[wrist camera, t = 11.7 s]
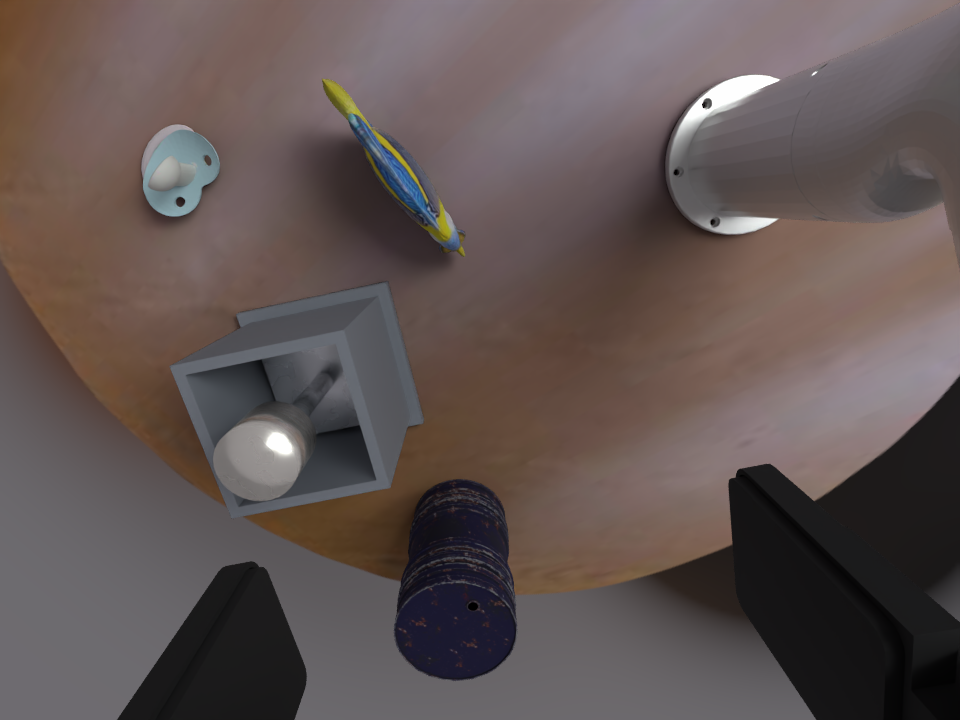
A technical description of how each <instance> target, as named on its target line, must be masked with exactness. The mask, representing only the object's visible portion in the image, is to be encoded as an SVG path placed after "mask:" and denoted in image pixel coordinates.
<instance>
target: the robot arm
mask: <svg viewBox="0 0 960 720" xmlns="http://www.w3.org/2000/svg"><path fill="white" fill-rule="evenodd" d="M702 102H703V103H704V104H705V108H704V109H703V108H702ZM675 169H676V170H677V175H674V170H675ZM665 171H666V181H667V185H668V189H669V193H670V195H671V197H672V199H673V202H674V204H675V205H676V207H677V208H678V209H679V211H680V212H681V213H682V215H683V216H684V217H686V218H687V219H688V220H689V221H690V222H691V223H692V224H694V225H696V226H698V227H700V228H701V229H703V230H706V231H710V232H713V233H717V234H725V235H741V234H746V233H750V232H755V231H757V230H759V229H762V228H764V227H767V226H769V225H770V224H772V223H773V222H775V221H777V220H778V219H792V220H812V221H832V222H853V223H856V222H859V223H881V222H890V221H895V220H900V219H905V218H908V217H911V216H914V215H917V214H919V213H922V212H924V211H927V210H929V209H931V208H933V207H936V206H938V205H940V204H941V203H943V202H944V206H945V210H946V215H947V220H948V225H949V229H950V230H951V231H952V235H953V240H954V245H955V250H956V255H957V260H958V265H959V270H960V3H958V4H956V5H954V6H952V7H950V8H949V9H947V10H945V11H943V12H941V13H939V14H937V15H935V16H933V17H931V18H929V19H926V20H924V21H922V22H920V23H918V24H915V25H913V26H911V27H909V28H907V29H904V30H902V31H900V32H898V33H895V34H893V35H891V36H888V37H886V38H883V39H881V40H878V41H876V42H873V43H871V44H868V45H866V46H863V47H861V48H859V49H857V50H854V51H852V52H849V53H847V54H844V55H842V56H839V57H837V58H834V59H832V60H829V61H827V62H824V63H822V64H819V65H817V66H814V67H812V68H809V69H807V70H804V71H802V72H799V73H797V74H794V75H792V76H789V77H787V78H784V79H782V80H781V79H778V78H775V77H772V76H769V75H759V74H750V75H742V76H737V77H734V78H731V79H728V80H725V81H723V82H721V83H719V84H717V85H715V86H713V87H711V88H710V89H708V90H707V91H705V92H704V93H702V94H701V95H700V96H699V97H698V98H697V99H696V100H694V101H693V102H692V103H691V104H690V105H689V106H688V108H687V109H686V110H685V112H684V113H683V114H682V116H681V117H680V119H679V120H678V122H677V124H676V126H675V128H674V130H673V132H672V134H671V138H670V141H669V144H668V147H667V153H666V161H665ZM711 219H712V220H713V223H712V224H711V225H710V221H711ZM729 500H730V514H731V528H732V542H733V556H734V570H735V585H736V593H737V597H738V600H739V603H740V605H741V607H742V609H743V611H744V612H745V614H746V615H747V617H748V618H749V620H750V621H751V623H752V624H753V625H754V627H755V629H756V630H757V632H758V633H759V635H760V636H761V638H762V639H763V641H764V642H765V644H766V645H767V647H768V648H769V650H770V651H771V653H772V654H773V655H774V657H775V658H776V660H777V661H778V663H779V664H780V666H781V667H782V669H783V670H784V672H785V673H786V675H787V676H788V678H789V679H790V681H791V682H792V684H793V685H794V686H795V688H796V690H797V691H798V693H799V694H800V696H801V697H802V699H803V700H804V702H805V703H806V705H807V706H808V708H809V709H810V711H811V712H812V714H813V715H814V717H815V718H816V720H960V622H959V621H958V620H956V619H955V618H954V617H953V616H952V615H951V614H949V613H948V612H947V611H946V610H945V609H944V608H942V607H941V606H940V605H939V604H938V603H937V602H935V601H934V600H933V599H932V598H931V597H929V596H928V595H927V594H926V593H925V592H924V591H923V590H921V589H920V588H919V587H918V586H917V585H915V584H914V583H913V582H912V581H911V580H909V579H908V578H907V577H906V576H905V575H904V574H903V573H901V572H900V571H899V570H898V569H897V568H896V567H895V566H893V565H892V564H891V563H890V562H889V561H888V560H886V559H885V558H884V557H883V556H882V555H881V554H879V553H878V552H877V551H876V550H875V549H873V548H872V547H871V546H870V545H869V544H868V543H867V542H865V541H864V540H863V539H862V538H861V537H860V536H858V535H857V534H856V533H855V532H854V531H852V530H851V529H849V528H848V527H846V526H842V525H841V524H840V523H839V522H837V521H836V520H835V519H834V518H833V517H832V516H830V515H829V514H828V513H827V512H826V511H825V510H823V509H822V508H821V507H820V506H819V505H818V504H817V503H815V502H814V501H813V500H812V499H811V498H810V497H809V496H807V495H806V494H805V493H804V492H803V491H802V490H800V489H799V488H798V487H797V486H796V485H795V484H794V483H792V482H791V481H790V480H789V479H788V478H787V477H785V476H784V475H783V474H782V473H781V472H780V471H779V470H777V469H776V468H775V467H774V466H772V465H771V464H764V465H758V466H753V467H748V468H742V469H739V470H738V471H737V473H736V478H731V479H730V480H729ZM306 677H307V676H306V668H305V665H304V662H303V660H302V657H301V655H300V652H299V650H298V647H297V645H296V642H295V640H294V637H293V635H292V632H291V630H290V627H289V625H288V622H287V620H286V617H285V614H284V612H283V609H282V607H281V604H280V602H279V600H278V597H277V594H276V592H275V589H274V587H273V585H272V582H271V579H270V577H269V574H268V572H267V570H266V569H265V568H264V567H259V566H258V565H257V564H256V563H255V562H246V563H240V564H235V565H229V566H225V567H223V568H222V569H221V570H220V571H219V572H218V573H217V575H216V576H215V578H214V579H213V581H212V582H211V584H210V585H209V586H208V588H207V590H206V591H205V592H204V594H203V595H202V597H201V598H200V600H199V601H198V603H197V604H196V606H195V607H194V608H193V610H192V611H191V613H190V614H189V616H188V617H187V619H186V620H185V621H184V623H183V625H182V626H181V627H180V629H179V630H178V632H177V633H176V635H175V636H174V638H173V639H172V641H171V642H170V643H169V645H168V646H167V648H166V649H165V651H164V652H163V654H162V655H161V657H160V658H159V659H158V661H157V663H156V664H155V665H154V667H153V668H152V670H151V671H150V673H149V674H148V675H147V677H146V678H145V680H144V681H143V683H142V684H141V686H140V687H139V689H138V690H137V692H136V693H135V694H134V696H133V698H132V699H131V700H130V702H129V703H128V705H127V706H126V708H125V709H124V710H123V712H122V713H121V715H120V716H119V718H118V719H117V720H294V719H295V716H296V713H297V710H298V708H299V705H300V702H301V698H302V696H303V693H304V690H305V686H306Z"/></svg>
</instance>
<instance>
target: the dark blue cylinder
mask: <svg viewBox="0 0 960 720" xmlns="http://www.w3.org/2000/svg"><path fill="white" fill-rule="evenodd" d="M508 542H509V540H508V529H507V524H506V521H505V512H504V508H503V506H502V503H501V501H500V500H499V498H498V497H497V496H496V495H495V493H494V492H493V491H491V490H490V489H489V488H488V487H486V486H484V485H482V484H480V483H477V482H475V481H471V480H463V479H456V480H449V481H445V482H442V483H439V484H437V485H435V486H434V487H432V488H431V489H429V490H428V491H427V492H426V493H425V494H424V495H423V496H422V498H421V499H420V500H419V502H418V504H417V507H416V510H415V514H414V520H413V522H412V526H411V530H410V538H409V549H408V554H409V562H408V564H407V566H406V568H405V571H404V573H403V576H402V580H401V587H400V591H399V596H398V604H397V615H396V619H395V624H394V637H395V642H396V645H397V648H398V650H399V652H400V653H401V655H402V656H403V658H404V659H405V660H406V661H407V662H408V663H409V664H410V665H411V666H412V667H414V668H415V669H417V670H418V671H420V672H422V673H424V674H426V675H428V676H431V677H434V678H438V679H443V680H453V681H456V680H457V681H458V680H468V679H473V678H477V677H480V676H483V675H485V674H487V673H489V672H491V671H493V670H494V669H496V668H497V667H499V666H500V665H501V664H502V663H503V662H504V661H505V660H506V659H507V658H508V657H509V655H510V654H511V652H512V650H513V648H514V646H515V642H516V639H517V621H516V613H515V610H516V602H515V592H514V581H513V577H512V574H511V571H510V568H509V566H508V562H507V560H508V555H509V545H508Z"/></svg>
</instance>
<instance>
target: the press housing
mask: <svg viewBox="0 0 960 720" xmlns="http://www.w3.org/2000/svg"><path fill="white" fill-rule="evenodd" d="M236 316H237V319H238V321H239V324H240V327H241V328H239V329H238V330H236V331H234V332H232V333H230V334H228V335H226V336H225V337H223V338H221V339H219V340H217V341H215V342H213V343H212V344H210V345H208V346H206V347H204V348H202V349H200V350H199V351H197V352H195V353H193V354H191V355H189V356H187V357H186V358H184V359H182V360H180V361H178V362H176V363H175V364H173V365H171V366H170V369H171V371H172V374H173V376H174V378H175V381H176V383H177V386H178V388H179V391H180V393H181V396H182V398H183V401H184V403H185V405H186V408H187V410H188V413H189V415H190V418H191V420H192V423H193V425H194V428H195V430H196V432H197V435H198V437H199V440H200V442H201V445H202V447H203V450H204V452H205V455H206V457H207V459H208V462H209V464H210V467H211V469H212V472H213V474H214V477H215V479H216V482H217V484H218V486H219V489H220V491H221V494H222V496H223V499H224V501H225V504H226V506H227V509H228V511H229V513H230V516H231V518H236V517H242V516H247V515H252V514H257V513H262V512H267V511H273V510H278V509H283V508H288V507H293V506H299V505H304V504H309V503H314V502H319V501H324V500H330V499H335V498H340V497H345V496H350V495H355V494H361V493H366V492H371V491H376V490H381V489H387V488H390V487H391V483H392V480H393V476H394V473H395V469H396V466H397V462H398V459H399V455H400V452H401V448H402V445H403V441H404V438H405V434H406V431H407V427H408V426H413V425H418V424H423V422H424V417H423V414H422V410H421V406H420V402H419V398H418V394H417V390H416V387H415V383H414V379H413V375H412V371H411V367H410V364H409V360H408V356H407V352H406V348H405V344H404V341H403V337H402V333H401V329H400V325H399V321H398V317H397V314H396V310H395V306H394V302H393V298H392V294H391V291H390V287H389V283H388V281H385V282H381V283H376V284H371V285H366V286H362V287H357V288H352V289H347V290H343V291H338V292H333V293H329V294H324V295H319V296H314V297H310V298H305V299H300V300H295V301H291V302H286V303H281V304H277V305H272V306H267V307H262V308H258V309H253V310H248V311H243V312H240V313H238V314H236ZM333 344H336V347H337V350H338V354H339V357H340V360H341V364H342V367H343V370H344V374H345V377H346V380H347V384H348V387H349V390H350V394H351V397H352V400H353V403H354V407H355V410H356V413H357V417H358V420H359V423H360V425H358V426H353V427H348V428H343V429H338V430H333V431H328V432H323V433H318V434H316V436H317V442H316V447H315V450H314V452H313V454H312V455H311V457H310V458H309V460H308V461H307V463H306V465H305V466H304V468H303V469H302V471H301V473H300V474H299V476H298V477H297V479H296V480H295V482H294V484H293V485H292V486H291V488H290V489H289V490H288V491H287V492H286V493H284V494H283V495H281V496H280V497H278V498H275V499H272V500H267V501H253V500H248V499H245V498H242V497H240V496H237V495H236V494H234V493H232V492H231V491H230V490H228V489H227V488H226V487H225V486H224V485H223V484H222V482H221V481H220V480H219V478H218V476H217V474H216V472H215V469H214V464H213V454H214V450H215V447H216V445H217V443H218V442H219V440H220V439H221V438H222V437H223V436H224V435H225V434H226V433H227V432H228V431H229V430H231V429H232V428H233V427H234V426H235V425H236V424H237V423H238V422H239V421H240V420H241V419H242V418H243V417H244V416H245V415H247V414H248V413H249V412H250V411H251V410H252V409H253V408H254V407H256V406H258V405H260V404H262V403H266V402H272V401H276V399H275V396H274V394H273V391H272V388H271V385H270V382H269V379H268V376H267V374H266V371H265V368H264V365H263V362H262V359H265V358H270V357H275V356H279V355H284V354H289V353H294V352H299V351H304V350H308V349H313V348H318V347H323V346H328V345H333Z"/></svg>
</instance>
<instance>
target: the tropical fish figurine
mask: <svg viewBox="0 0 960 720" xmlns="http://www.w3.org/2000/svg"><path fill="white" fill-rule="evenodd" d="M322 82H323V87H324V90H325V93H326V95H327V96H328V98H329V99H330V101H331V102H332V104H333V105H334V106H335V107H336V108H337V109H338V110H339V112H340V113H341V114H342V115H343V116H344V117H345V118H346V119H347V120H348V121H349V124H350V127H351V129H352V130H353V132H354V134H355V135H356V137H357V138H358V140H359V141H360V143H361V144H362V147H363V150H364V153H365V156H366V159H367V161H368V163H369V165H370V167H371V169H372V170H373V172H374V174H375V175H376V177H377V179H378V180H379V182H380V183H381V185H382V186H383V187H384V189H385V190H386V191H387V192H388V194H389V195H390V196H391V197H392V199H393V200H394V201H395V202H396V203H397V204H398V205H399V206H400V207H401V208H402V209H403V210H404V211H405V212H406V213H407V214H408V215H409V216H410V217H411V218H412V219H413V220H414V221H415V222H417V223H418V224H419V225H420V226H421V227H423V228H424V229H425V230H427V231H428V232H429V234H430V235H431V237H432V238H433V239H434V240H435V241H437V242H439V243H440V247H439V250H440V252H442V253H446V252H450V251H457V252H458V253H459V254H460V255H461V256H463V257H465V252H464V250H463V248H462V246H461V243H462V242H463V240H464V237H465V232H464V231H462V230H458V229H457V228H456V226H455V225H454V224H453V221H452V219H451V217H450V215H449V214H448V213H447V212H446V211H445V210H444V207H443V205H442V203H441V201H440V199H439V196H438V195H437V193H436V191H435V189H434V187H433V186H432V184H431V182H430V181H429V179H428V177H427V176H426V174H425V173H424V172H423V170H422V169H421V167H420V166H419V165H418V164H417V162H416V161H415V160H414V159H413V157H412V156H411V155H410V154H409V153H408V152H407V151H406V150H405V149H404V148H403V147H402V146H401V145H400V144H399V143H398V142H397V141H396V140H394V139H393V138H392V137H391V136H390V135H388V134H387V133H385V132H383V131H382V130H380V129H377V128H374V127H373V126H372V125H371V124H370V123H369V122H368V121H367V120H366V119H365V118H364V117H363V115H362V114H361V113H360V111H359V110H358V108H357V107H356V105H355V103H354V102H353V100H352V99H351V97H350V96H349V95H348V93H347V92H346V91H345V90H344V89H343V88H342V87H341V86H340V85H338V84H337V83H336V82H334V81H332V80H329V79H322Z"/></svg>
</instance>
